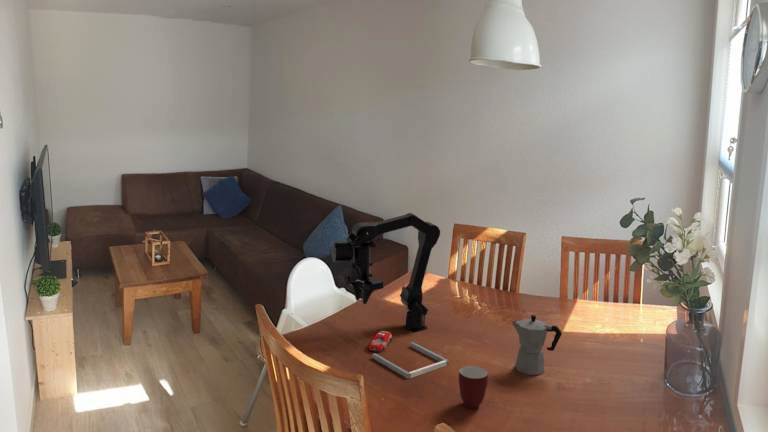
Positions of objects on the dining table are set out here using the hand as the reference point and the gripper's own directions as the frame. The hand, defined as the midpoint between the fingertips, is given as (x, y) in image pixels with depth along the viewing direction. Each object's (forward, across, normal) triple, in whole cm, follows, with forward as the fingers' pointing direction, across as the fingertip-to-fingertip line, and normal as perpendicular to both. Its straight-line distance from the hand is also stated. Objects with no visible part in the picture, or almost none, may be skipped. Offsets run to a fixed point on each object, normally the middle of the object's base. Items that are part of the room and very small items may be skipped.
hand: (361, 302), depth 223 cm
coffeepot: (+12, +54, +28) cm, 63 cm away
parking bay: (+12, +28, 0) cm, 30 cm away
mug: (+12, +58, -3) cm, 60 cm away
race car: (+12, +12, 0) cm, 17 cm away
